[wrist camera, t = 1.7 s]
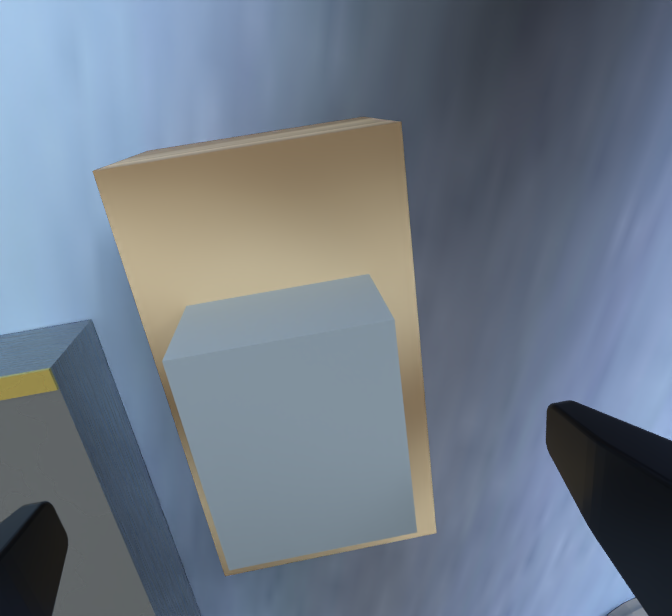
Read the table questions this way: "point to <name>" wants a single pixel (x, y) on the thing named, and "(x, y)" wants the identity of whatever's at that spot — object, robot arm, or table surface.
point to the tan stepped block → (273, 246)
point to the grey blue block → (295, 418)
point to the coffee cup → (629, 609)
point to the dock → (85, 475)
